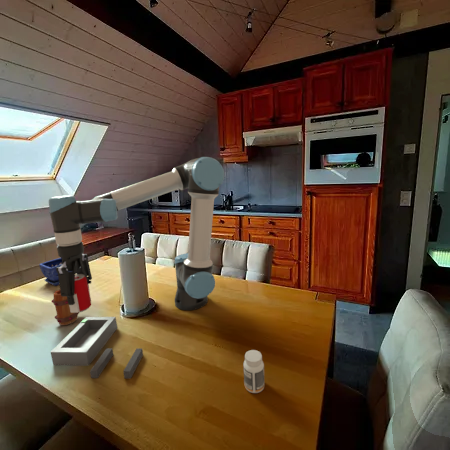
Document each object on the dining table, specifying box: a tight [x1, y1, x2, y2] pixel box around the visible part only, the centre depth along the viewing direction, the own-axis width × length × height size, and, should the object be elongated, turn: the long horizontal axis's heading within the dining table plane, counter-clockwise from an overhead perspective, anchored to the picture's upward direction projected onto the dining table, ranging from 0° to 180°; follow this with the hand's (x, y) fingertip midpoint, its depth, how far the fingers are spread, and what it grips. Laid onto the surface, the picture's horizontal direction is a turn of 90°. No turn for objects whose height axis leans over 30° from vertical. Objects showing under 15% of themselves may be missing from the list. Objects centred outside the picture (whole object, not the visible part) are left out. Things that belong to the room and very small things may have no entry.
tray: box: [50, 316, 118, 367], centre depth 94 cm, size 12×20×5 cm, turn 176°
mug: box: [50, 289, 81, 326], centre depth 111 cm, size 15×8×15 cm, turn 168°
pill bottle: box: [242, 349, 265, 394], centre depth 73 cm, size 6×6×10 cm
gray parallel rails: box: [89, 347, 144, 379], centre depth 84 cm, size 12×10×2 cm
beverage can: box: [70, 273, 92, 313], centre depth 90 cm, size 6×6×12 cm
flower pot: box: [39, 257, 73, 287], centre depth 151 cm, size 13×13×12 cm
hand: (81, 306), depth 91 cm, fingers closed on beverage can, 6 cm apart
